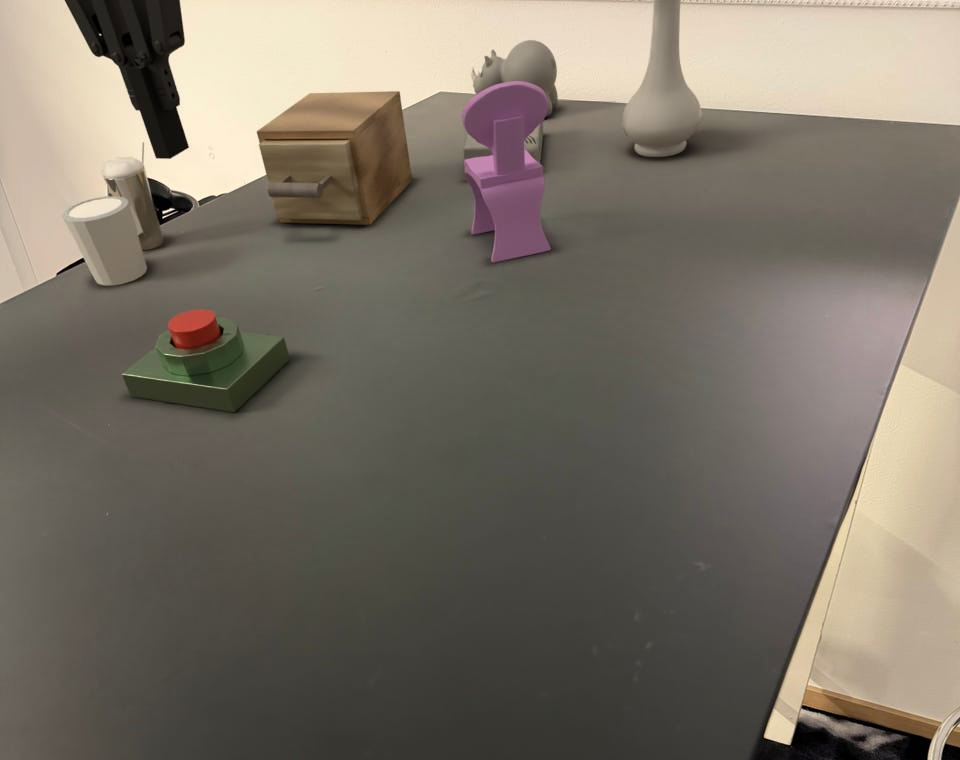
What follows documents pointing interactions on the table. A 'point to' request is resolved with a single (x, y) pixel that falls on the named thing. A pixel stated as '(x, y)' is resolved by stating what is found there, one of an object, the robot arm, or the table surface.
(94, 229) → the white cup
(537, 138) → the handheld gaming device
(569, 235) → the table surface
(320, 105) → the cabinet
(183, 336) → the button
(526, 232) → the toy chair
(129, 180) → the milkshake
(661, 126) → the flower vase
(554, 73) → the toy rhinoceros
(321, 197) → the drawer
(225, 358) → the button block
